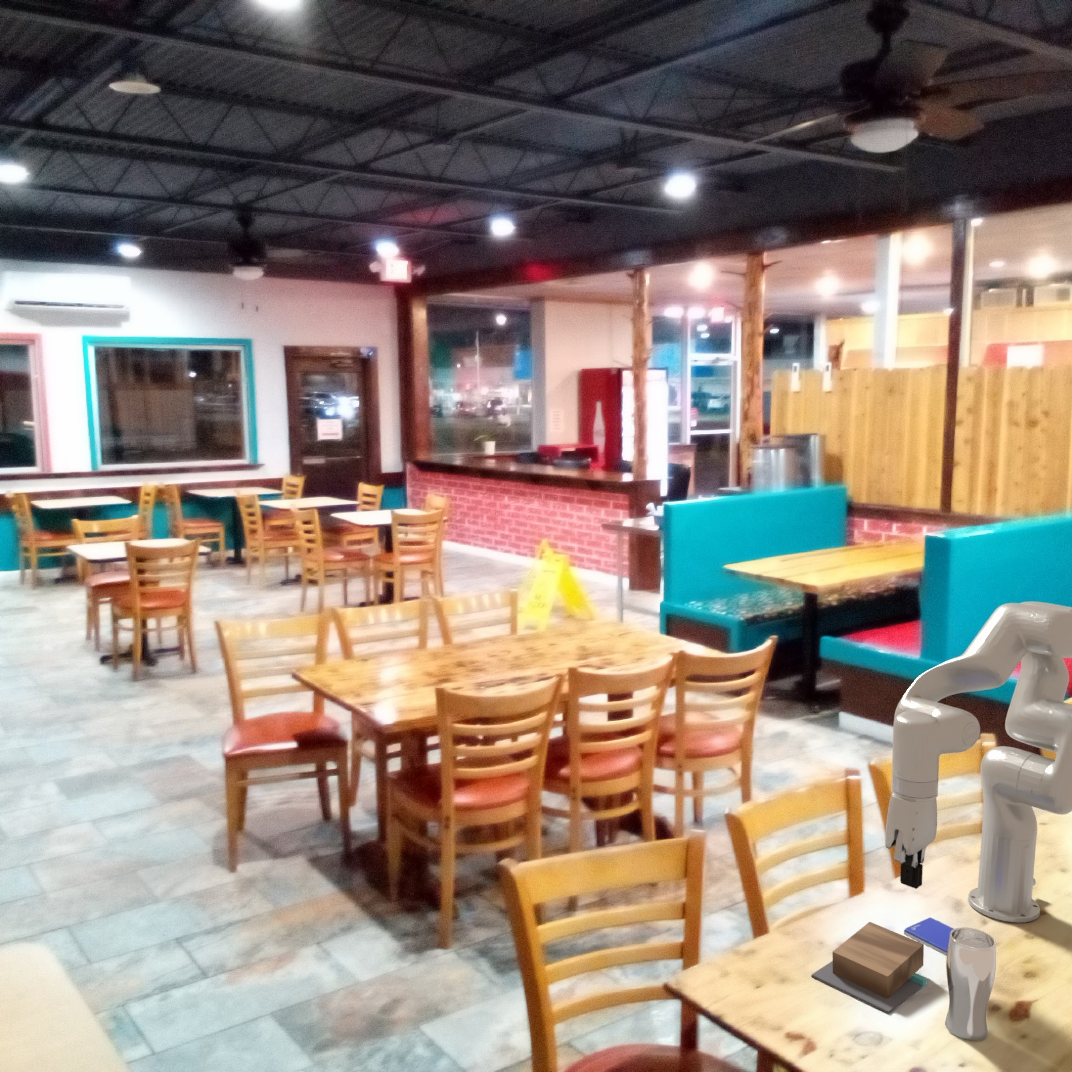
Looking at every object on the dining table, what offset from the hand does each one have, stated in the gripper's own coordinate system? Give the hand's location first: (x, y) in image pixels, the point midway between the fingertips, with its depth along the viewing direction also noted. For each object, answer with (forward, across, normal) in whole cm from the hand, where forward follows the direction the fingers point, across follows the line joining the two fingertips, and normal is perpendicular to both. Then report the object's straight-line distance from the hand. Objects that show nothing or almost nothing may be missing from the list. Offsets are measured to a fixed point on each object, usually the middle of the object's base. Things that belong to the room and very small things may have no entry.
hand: (911, 884), depth 176 cm
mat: (+12, +14, 0) cm, 19 cm away
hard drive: (+14, -9, +3) cm, 17 cm away
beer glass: (+13, +14, +17) cm, 25 cm away
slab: (+9, +4, 0) cm, 10 cm away
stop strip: (+13, +8, 0) cm, 15 cm away
